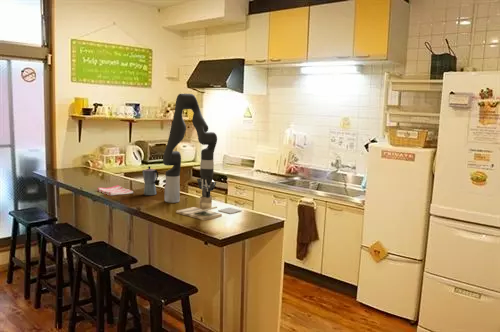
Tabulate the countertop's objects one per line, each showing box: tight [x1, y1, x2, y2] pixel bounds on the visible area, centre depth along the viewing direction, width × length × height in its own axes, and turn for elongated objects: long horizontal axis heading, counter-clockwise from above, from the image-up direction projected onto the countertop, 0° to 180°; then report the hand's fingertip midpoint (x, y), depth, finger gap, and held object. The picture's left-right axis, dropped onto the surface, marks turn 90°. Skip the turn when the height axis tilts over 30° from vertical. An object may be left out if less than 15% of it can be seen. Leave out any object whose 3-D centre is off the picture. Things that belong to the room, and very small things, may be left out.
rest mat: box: [217, 207, 242, 215], centre depth 256 cm, size 10×10×1 cm
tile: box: [193, 206, 218, 213], centre depth 242 cm, size 11×9×1 cm
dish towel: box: [97, 184, 134, 197], centre depth 301 cm, size 17×23×4 cm
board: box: [175, 206, 223, 221], centre depth 246 cm, size 24×14×1 cm, turn 50°
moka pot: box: [142, 165, 159, 196], centre depth 295 cm, size 10×15×20 cm, turn 59°
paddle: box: [199, 187, 213, 210], centre depth 241 cm, size 3×7×12 cm, turn 141°
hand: (206, 197), depth 241 cm, fingers closed on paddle, 2 cm apart
